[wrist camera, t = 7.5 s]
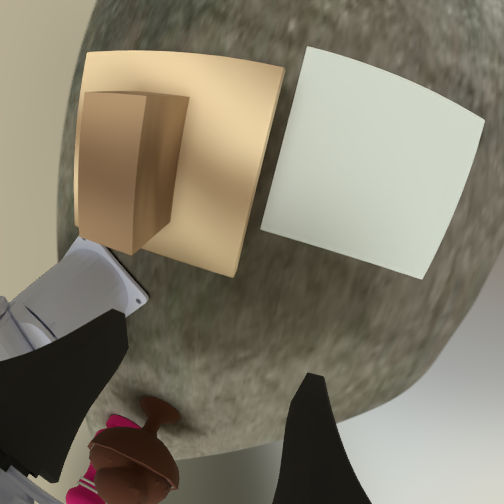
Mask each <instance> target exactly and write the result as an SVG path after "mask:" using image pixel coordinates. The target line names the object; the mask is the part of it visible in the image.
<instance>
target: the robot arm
mask: <svg viewBox="0 0 504 504" xmlns="http://www.w3.org/2000/svg"><path fill="white" fill-rule="evenodd" d="M148 300H149V297H148V295H147V294H146V293H145V292H144V290H143V289H142V288H141V287H140V286H139V285H138V284H137V283H136V282H135V280H134V279H133V278H132V277H131V276H130V275H129V274H128V273H127V271H126V270H125V269H124V268H123V267H122V266H121V264H120V263H119V262H118V261H117V260H116V259H115V257H114V256H113V255H112V254H111V253H110V252H109V250H108V249H107V248H106V247H105V246H103V245H101V244H98V243H95V242H92V241H90V240H87V239H84V238H82V237H79V236H78V237H77V239H76V240H75V241H74V243H73V244H72V246H71V247H70V249H69V250H68V251H67V253H66V254H65V256H64V257H63V259H62V260H61V261H60V262H59V263H57V264H56V265H55V266H53V267H52V268H51V269H50V270H48V271H47V272H46V273H45V274H43V275H42V276H41V277H39V278H38V279H37V280H36V281H35V282H33V283H32V284H31V285H30V286H29V287H27V288H26V289H25V290H24V291H22V292H21V293H20V294H19V295H18V296H17V297H15V298H14V299H13V300H12V301H11V302H7V300H6V298H5V297H3V296H0V504H34V500H35V501H37V502H38V503H39V504H63V503H62V502H60V501H59V500H57V499H56V498H54V497H53V496H51V495H50V494H48V493H47V492H46V491H44V490H42V489H41V488H40V487H39V486H37V485H36V484H35V483H33V482H32V481H31V480H29V479H28V478H27V476H28V475H29V474H31V475H32V476H33V477H35V478H37V476H38V475H40V476H41V477H43V478H44V479H45V480H47V481H48V482H50V483H56V482H58V481H59V477H60V474H61V471H62V468H63V465H64V462H65V460H66V457H67V454H68V452H69V449H70V447H71V444H72V442H73V440H74V438H75V436H76V433H77V432H78V429H79V427H80V425H81V423H82V422H83V420H84V418H85V416H86V414H87V412H88V411H89V409H90V407H91V406H92V404H93V403H94V401H95V400H96V399H97V397H98V396H99V394H100V393H101V391H102V390H103V389H104V387H105V386H106V384H107V383H108V382H109V380H110V379H111V377H112V376H113V375H114V373H115V372H116V370H117V369H118V367H119V365H120V364H121V362H122V360H123V358H124V356H125V354H126V352H127V350H128V348H129V347H128V338H127V329H126V317H127V316H129V315H130V314H131V313H133V312H134V311H136V310H137V309H138V308H140V307H141V306H142V305H144V304H145V303H146V302H147V301H148ZM272 504H372V503H371V502H370V500H369V498H368V497H367V495H366V493H365V491H364V490H363V488H362V486H361V485H360V482H359V481H358V479H357V477H356V475H355V473H354V470H353V468H352V466H351V464H350V462H349V459H348V457H347V454H346V452H345V449H344V446H343V444H342V441H341V438H340V435H339V432H338V429H337V426H336V422H335V419H334V416H333V412H332V408H331V405H330V401H329V397H328V392H327V388H326V383H325V379H324V377H323V376H320V375H315V374H311V373H307V374H306V376H305V378H304V380H303V382H302V383H301V385H300V387H299V389H298V391H297V392H296V394H295V396H294V398H293V399H292V401H291V404H290V408H289V412H288V417H287V421H286V426H285V434H284V442H283V451H282V459H281V467H280V474H279V479H278V484H277V488H276V492H275V496H274V499H273V503H272Z"/></svg>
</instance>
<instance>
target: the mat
mask: <svg viewBox="0 0 504 504" xmlns="http://www.w3.org/2000/svg"><path fill="white" fill-rule="evenodd" d="M484 122H485V120H484V119H482V118H480V117H479V116H477V115H475V114H474V113H472V112H470V111H468V110H467V109H465V108H463V107H461V106H460V105H458V104H456V103H454V102H452V101H450V100H449V99H447V98H445V97H443V96H441V95H439V94H437V93H435V92H433V91H431V90H429V89H427V88H424V87H422V86H420V85H418V84H416V83H413V82H411V81H409V80H407V79H404V78H402V77H400V76H397V75H395V74H392V73H390V72H387V71H385V70H382V69H379V68H377V67H374V66H371V65H368V64H365V63H363V62H360V61H357V60H354V59H350V58H347V57H344V56H341V55H338V54H334V53H331V52H327V51H323V50H320V49H316V48H312V47H308V46H307V49H306V53H305V57H304V61H303V65H302V69H301V73H300V77H299V81H298V84H297V88H296V92H295V96H294V100H293V104H292V108H291V112H290V116H289V120H288V123H287V127H286V131H285V135H284V139H283V143H282V147H281V151H280V155H279V158H278V162H277V166H276V170H275V174H274V178H273V182H272V186H271V189H270V193H269V197H268V201H267V205H266V209H265V213H264V216H263V220H262V224H261V228H260V230H264V231H267V232H270V233H274V234H277V235H281V236H284V237H287V238H291V239H294V240H297V241H301V242H304V243H307V244H311V245H314V246H317V247H321V248H324V249H327V250H330V251H334V252H337V253H340V254H343V255H347V256H350V257H353V258H356V259H359V260H363V261H366V262H369V263H372V264H375V265H378V266H381V267H385V268H388V269H391V270H394V271H397V272H400V273H403V274H406V275H409V276H412V277H416V278H419V279H423V277H424V275H425V273H426V271H427V269H428V268H429V266H430V264H431V262H432V260H433V258H434V256H435V253H436V251H437V249H438V247H439V245H440V243H441V241H442V239H443V237H444V234H445V232H446V230H447V228H448V225H449V223H450V221H451V218H452V216H453V214H454V211H455V209H456V206H457V204H458V201H459V199H460V196H461V194H462V191H463V188H464V186H465V183H466V180H467V177H468V175H469V172H470V169H471V166H472V163H473V160H474V157H475V153H476V150H477V147H478V144H479V140H480V137H481V133H482V129H483V126H484Z"/></svg>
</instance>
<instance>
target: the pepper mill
mask: <svg viewBox="0 0 504 504" xmlns="http://www.w3.org/2000/svg"><path fill="white" fill-rule="evenodd" d="M106 426H107V428H112V427H119V426H121V427H133V428H138V429H141V428H140V427H139V426H138V425H136V424H135V423H133V422H132V421H130V420H128V419H126V418H124V417H122V416H118V415H111V416H110V417H109V419H108V421H107V423H106ZM107 428H106V429H107ZM103 430H105V429H102V430H99V431H98V432H97V433H96V435H97V434H98V433H100V432H102V431H103ZM96 435H95V436H96ZM96 473H97V471H96V470H95V469H94V467H93V466H92V463H91V462H90V466H89V468H88V470H87V472H86V474H85V475H84V477H80V480H79V481H78V482H77V483H78V484H79V486H77V487H74V488H71V489H69V491H68V492H67V494H66V503H67V504H105V501H104V500H103V499H102V498H101V497H99V496H98V492H97V490H96V488H95V484H94V477H95V474H96Z"/></svg>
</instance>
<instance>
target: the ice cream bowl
mask: <svg viewBox="0 0 504 504" xmlns="http://www.w3.org/2000/svg"><path fill="white" fill-rule="evenodd" d="M140 406H141V408H142V410H143V412H144V413H145V414H146V415H147V417H148V419H147V421H146V423H145V425H144V427H143V428H141V429H138V428H133V427H121V426H119V427H112V428H107V429H105V430H103V431H102V432H100V433H98V434H97V435H96V436H95V437H94V439H93V440H92V441H91V442H90V443H89V445H88V448H89V449H90V456H89V459H90V461H91V463H92V466H93V467H94V469H95V470H96V471H97V473H96V474H95V477H94V484H95V488H96V490H97V492H98V496H99V497H101V498H102V499H103V500H104V501H105V502H106V503H107V504H157V503H159V502H160V501H162V500H163V499H165V497H166V496H167V495H168V493H169V492H170V490H176V489H178V485H179V471H178V467H177V465H176V463H175V461H174V459H173V457H172V455H171V454H170V452H169V450H168V449H167V447H166V446H165V445H164V444H163V442H162V441H160V440H159V439H158V438H157V431H158V429H159V427H160V425H161V424H175V423H176V422H178V421H179V420H180V419H181V417H180V415H179V413H178V411H177V410H176V409H175V408H173V407H172V406H171V405H170V404H169V403H167V402H165V401H162V400H160V399H158V398H155V397H146V396H144V397H143V398H142V399H141V400H140Z"/></svg>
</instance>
